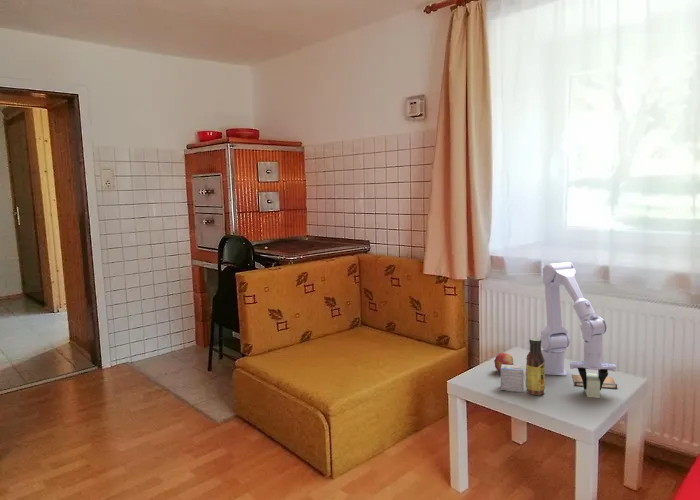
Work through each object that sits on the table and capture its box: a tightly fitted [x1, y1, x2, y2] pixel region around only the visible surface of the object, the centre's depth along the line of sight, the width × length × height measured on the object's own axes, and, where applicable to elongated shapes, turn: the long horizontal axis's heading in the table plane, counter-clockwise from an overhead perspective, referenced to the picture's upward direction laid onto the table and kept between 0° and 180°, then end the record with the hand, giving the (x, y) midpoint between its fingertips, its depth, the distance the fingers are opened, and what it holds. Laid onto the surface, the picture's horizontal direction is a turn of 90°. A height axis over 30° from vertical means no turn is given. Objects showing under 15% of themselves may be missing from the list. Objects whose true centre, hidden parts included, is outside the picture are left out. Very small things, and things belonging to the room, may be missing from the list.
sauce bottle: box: [525, 337, 546, 396], centre depth 180 cm, size 7×6×20 cm
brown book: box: [571, 374, 618, 390], centre depth 187 cm, size 14×9×2 cm, turn 72°
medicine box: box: [500, 364, 524, 393], centre depth 184 cm, size 8×4×9 cm, turn 71°
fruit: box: [493, 352, 515, 373], centre depth 199 cm, size 8×8×8 cm
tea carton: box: [584, 372, 601, 399], centre depth 178 cm, size 4×7×6 cm, turn 162°
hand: (592, 388), depth 178 cm, fingers closed on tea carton, 4 cm apart
